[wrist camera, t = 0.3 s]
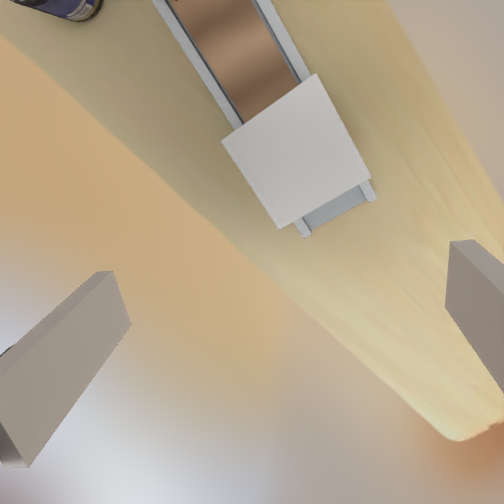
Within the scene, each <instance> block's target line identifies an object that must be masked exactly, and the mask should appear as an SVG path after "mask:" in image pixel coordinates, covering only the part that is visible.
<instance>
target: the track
mask: <svg viewBox="0 0 504 504" xmlns="http://www.w3.org/2000/svg"><path fill="white" fill-rule="evenodd" d="M151 1H152V2H153V4H154V5H155V7H156V8H157V10H158V12H159V13H160V15H161V16H162V18H163V19H164V21H165V22H166V24H167V26H168V27H169V29H170V30H171V32H172V33H173V35H174V37H175V38H176V40H177V41H178V43H179V44H180V46H181V47H182V49H183V51H184V52H185V54H186V55H187V57H188V58H189V60H190V62H191V63H192V65H193V66H194V68H195V69H196V71H197V72H198V74H199V76H200V77H201V79H202V80H203V82H204V83H205V85H206V86H207V88H208V90H209V91H210V93H211V94H212V96H213V97H214V99H215V101H216V102H217V104H218V105H219V107H220V108H221V110H222V111H223V113H224V115H225V116H226V118H227V119H228V121H229V122H230V124H231V126H232V127H233V129H234V130H235V131H234V132H232V133H231V134H230V135H228V136H227V137H225V138H224V139H223V140H221V143H222V144H223V146H224V147H225V149H226V150H227V152H228V153H229V155H230V156H231V158H232V159H233V161H234V162H235V164H236V165H237V167H238V168H239V170H240V171H241V173H242V175H243V176H244V178H245V179H246V181H247V182H248V184H249V185H250V187H251V188H252V190H253V191H254V193H255V194H256V196H257V197H258V199H259V200H260V202H261V203H262V205H263V206H264V208H265V209H266V211H267V212H268V214H269V215H270V217H271V218H272V220H273V222H274V223H275V225H276V226H277V228H278V229H279V230H280V229H282V228H283V227H285V226H287V225H289V224H290V223H292V222H294V224H295V225H296V227H297V229H298V230H299V232H300V233H301V235H302V236H303V238H306V237H308V236H310V235H311V234H312V231H311V230H313V229H315V228H317V227H319V226H321V225H322V224H324V223H326V222H328V221H330V220H331V219H333V218H335V217H337V216H339V215H340V214H342V213H344V212H346V211H348V210H349V209H351V208H353V207H355V206H357V205H359V204H360V203H362V202H364V201H366V200H367V201H368V202H369V203H370V202H372V201H373V200H375V199H377V198H378V197H377V195H376V194H375V192H374V190H373V188H372V186H371V184H370V183H369V181H368V179H369V178H371V177H372V176H371V174H370V172H369V170H368V168H367V167H366V165H365V163H364V161H363V159H362V157H361V155H360V154H359V152H358V150H357V148H356V146H355V144H354V142H353V141H352V139H351V137H350V135H349V133H348V131H347V129H346V128H345V126H344V124H343V122H342V120H341V118H340V116H339V115H338V113H337V111H336V109H335V107H334V105H333V103H332V102H331V100H330V98H329V96H328V94H327V92H326V90H325V89H324V87H323V85H322V83H321V81H320V79H319V77H318V76H317V74H316V73H315V74H314V75H312V76H311V74H310V72H309V71H308V69H307V67H306V65H305V63H304V61H303V60H302V58H301V56H300V54H299V52H298V50H297V48H296V47H295V45H294V43H293V41H292V39H291V37H290V36H289V34H288V32H287V30H286V28H285V26H284V25H283V23H282V21H281V19H280V17H279V15H278V14H277V12H276V10H275V8H274V6H273V4H272V3H271V1H270V0H251V1H252V3H253V5H254V6H255V8H256V10H257V12H258V14H259V15H260V17H261V19H262V21H263V22H264V24H265V26H266V28H267V30H268V31H269V33H270V35H271V37H272V39H273V40H274V42H275V44H276V46H277V47H278V49H279V51H280V53H281V55H282V56H283V58H284V60H285V62H286V64H287V65H288V67H289V69H290V71H291V72H292V74H293V76H294V78H295V80H296V81H297V83H298V86H297V87H295V88H294V89H293V90H291V91H290V92H288V93H287V94H286V95H284V96H283V97H281V98H280V99H279V100H277V101H276V102H274V103H273V104H272V105H270V106H269V107H267V108H266V109H265V110H263V111H262V112H260V113H259V114H258V115H256V116H255V117H253V118H252V119H251V120H249V121H248V122H245V121H244V119H243V118H242V116H241V114H240V113H239V111H238V110H237V108H236V106H235V105H234V103H233V102H232V100H231V98H230V97H229V95H228V94H227V92H226V90H225V89H224V87H223V86H222V84H221V82H220V81H219V79H218V78H217V76H216V74H215V73H214V71H213V70H212V68H211V66H210V65H209V63H208V62H207V60H206V58H205V57H204V55H203V54H202V52H201V50H200V49H199V47H198V46H197V44H196V42H195V41H194V39H193V38H192V36H191V34H190V33H189V31H188V30H187V28H186V27H185V25H184V23H183V22H182V20H181V19H180V17H179V15H178V14H177V12H176V11H175V9H174V7H173V6H172V4H171V3H170V1H169V0H151Z"/></svg>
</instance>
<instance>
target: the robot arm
mask: <svg viewBox="0 0 504 504" xmlns="http://www.w3.org/2000/svg"><path fill="white" fill-rule="evenodd" d="M445 308H446V309H447V311H448V312H449V314H450V315H451V317H452V318H453V320H454V321H455V323H456V324H457V326H458V327H459V329H460V330H461V331H462V333H463V334H464V336H465V337H466V339H467V340H468V342H469V343H470V345H471V346H472V348H473V349H474V350H475V352H476V353H477V355H478V356H479V358H480V359H481V361H482V362H483V364H484V365H485V367H486V368H487V370H488V371H489V372H490V374H491V375H492V377H493V378H494V380H495V381H496V383H497V384H498V386H499V387H500V389H501V390H502V392H503V393H504V264H502V263H501V262H500V261H499V260H498V259H496V258H495V257H494V256H493V255H492V254H490V253H489V252H488V251H487V250H486V249H484V248H483V247H482V246H481V245H480V244H479V243H477V242H476V241H475V240H462V241H451V242H450V250H449V263H448V275H447V287H446V299H445ZM130 326H131V321H130V319H129V316H128V313H127V310H126V307H125V304H124V301H123V299H122V296H121V293H120V290H119V287H118V284H117V282H116V278H115V276H114V273H113V271H102V272H96V273H95V274H93V275H92V276H91V277H90V278H89V279H88V280H87V281H86V282H84V283H83V284H82V285H81V286H80V287H79V288H78V289H77V290H75V291H74V292H73V293H72V294H71V295H70V296H69V297H68V298H66V299H65V300H64V301H63V302H62V303H61V304H60V305H58V306H57V307H56V308H55V309H54V310H53V311H52V312H51V313H50V314H48V315H47V316H46V317H45V318H44V319H43V320H42V321H40V322H39V323H38V324H37V325H36V326H35V327H34V328H33V329H31V330H30V331H29V332H28V333H27V334H26V335H25V336H23V337H22V338H21V339H20V340H19V341H18V342H17V343H16V344H14V345H13V346H11V347H10V348H8V349H7V350H6V351H5V352H4V353H3V354H1V355H0V461H1V462H2V464H3V465H4V467H13V468H29V467H30V465H31V464H32V462H33V461H34V460H35V458H36V457H37V455H38V454H39V453H40V451H41V450H42V448H43V447H44V446H45V444H46V443H47V442H48V440H49V439H50V437H51V436H52V434H53V433H54V432H55V430H56V429H57V428H58V426H59V425H60V423H61V422H62V421H63V419H64V418H65V417H66V415H67V414H68V412H69V411H70V410H71V408H72V407H73V405H74V404H75V403H76V401H77V400H78V398H79V397H80V396H81V394H82V393H83V392H84V390H85V389H86V387H87V386H88V385H89V383H90V382H91V380H92V379H93V378H94V376H95V375H96V373H97V372H98V371H99V369H100V368H101V366H102V365H103V364H104V362H105V361H106V360H107V358H108V357H109V355H110V354H111V353H112V351H113V350H114V348H115V347H116V346H117V344H118V343H119V342H120V340H121V339H122V337H123V336H124V335H125V333H126V332H127V330H128V329H129V328H130Z"/></svg>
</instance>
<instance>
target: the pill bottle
mask: <svg viewBox="0 0 504 504" xmlns="http://www.w3.org/2000/svg"><path fill="white" fill-rule="evenodd" d="M10 1H13V2H15V3H17V4H20V5H23V6H27V7H30V8H33V9H36V10H39V11H42V12H45V13H48V14H51V15H54V16H57V17H60V18H64V19H67V20H70V21H75V22H82V21H85V20H88V19H90V18H91V17H93V16H94V15H95V13H96V12H97V11H98V10H99V8H100V6H101V3H102V0H10Z"/></svg>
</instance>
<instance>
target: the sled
mask: <svg viewBox="0 0 504 504" xmlns="http://www.w3.org/2000/svg"><path fill="white" fill-rule="evenodd" d="M169 1H170V3H171V4H172V6H173V7H174V9H175V11H176V12H177V14H178V15H179V17H180V19H181V20H182V22H183V23H184V25H185V27H186V28H187V30H188V31H189V33H190V34H191V36H192V38H193V39H194V41H195V42H196V44H197V46H198V47H199V49H200V50H201V52H202V54H203V55H204V57H205V58H206V60H207V62H208V63H209V65H210V66H211V68H212V70H213V71H214V73H215V74H216V76H217V78H218V79H219V81H220V82H221V84H222V86H223V87H224V89H225V90H226V92H227V94H228V95H229V97H230V98H231V100H232V102H233V103H234V105H235V106H236V108H237V110H238V111H239V113H240V114H241V116H242V118H243V119H244V121H245V122H248V121H249V120H251V119H252V118H253V117H255V116H256V115H258V114H259V113H260V112H262V111H263V110H265V109H266V108H267V107H269V106H270V105H272V104H273V103H274V102H276V101H277V100H279V99H280V98H281V97H283V96H284V95H286V94H287V93H288V92H290V91H291V90H293V89H294V88H295V87H297V86H298V83H297V81H296V80H295V78H294V76H293V74H292V72H291V71H290V69H289V67H288V65H287V64H286V62H285V60H284V58H283V56H282V55H281V53H280V51H279V49H278V47H277V46H276V44H275V42H274V40H273V39H272V37H271V35H270V33H269V31H268V30H267V28H266V26H265V24H264V22H263V21H262V19H261V17H260V15H259V14H258V12H257V10H256V8H255V6H254V5H253V3H252V1H251V0H169Z"/></svg>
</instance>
